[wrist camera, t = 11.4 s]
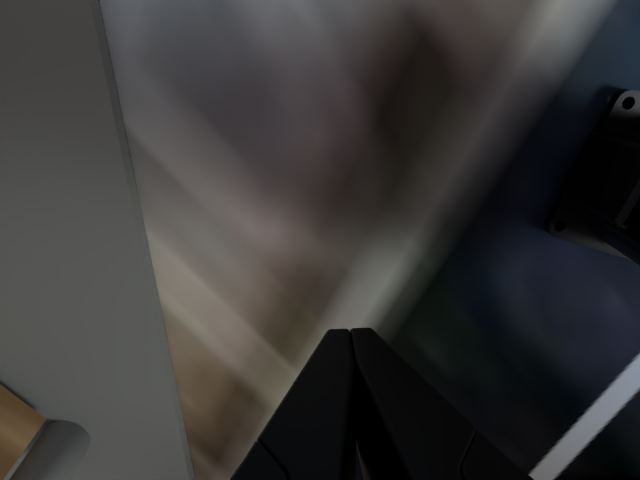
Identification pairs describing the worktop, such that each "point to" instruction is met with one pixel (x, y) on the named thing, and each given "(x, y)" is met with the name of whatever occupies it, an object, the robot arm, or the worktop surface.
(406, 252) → the worktop surface
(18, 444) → the gate leaf
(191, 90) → the worktop surface
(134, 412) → the grey base plate
